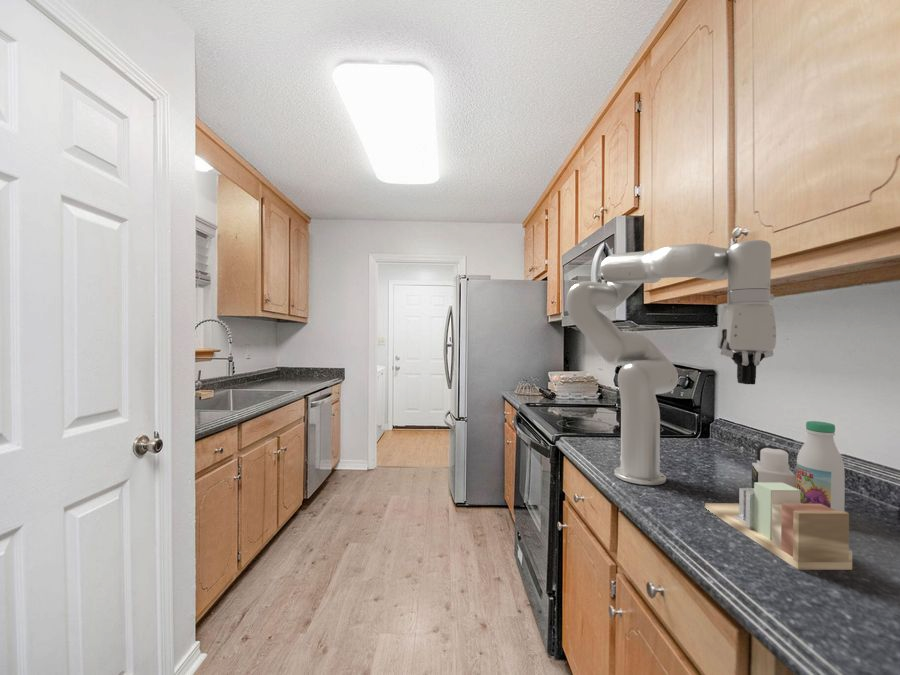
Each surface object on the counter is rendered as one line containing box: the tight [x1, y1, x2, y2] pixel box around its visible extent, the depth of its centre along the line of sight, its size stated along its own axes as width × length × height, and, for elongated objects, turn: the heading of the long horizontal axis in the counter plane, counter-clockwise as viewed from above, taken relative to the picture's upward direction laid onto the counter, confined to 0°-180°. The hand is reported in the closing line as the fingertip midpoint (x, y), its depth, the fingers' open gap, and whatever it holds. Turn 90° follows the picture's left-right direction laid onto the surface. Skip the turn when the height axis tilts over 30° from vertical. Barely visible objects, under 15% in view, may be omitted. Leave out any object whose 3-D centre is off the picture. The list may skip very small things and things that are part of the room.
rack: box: [704, 502, 853, 571], centre depth 80 cm, size 24×9×9 cm, turn 1°
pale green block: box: [754, 482, 801, 540], centre depth 77 cm, size 4×6×9 cm
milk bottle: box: [795, 420, 846, 511], centre depth 88 cm, size 8×8×20 cm
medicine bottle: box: [751, 445, 796, 488], centre depth 98 cm, size 7×7×12 cm
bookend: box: [734, 487, 754, 529], centre depth 82 cm, size 5×7×7 cm
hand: (746, 383), depth 90 cm, fingers closed
